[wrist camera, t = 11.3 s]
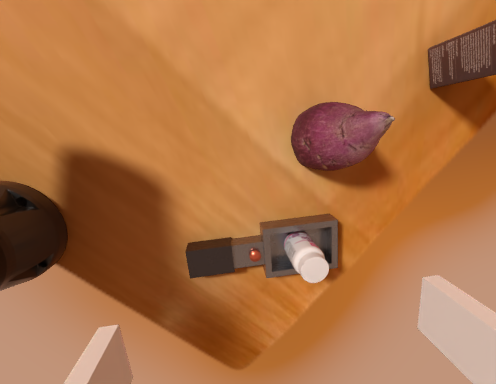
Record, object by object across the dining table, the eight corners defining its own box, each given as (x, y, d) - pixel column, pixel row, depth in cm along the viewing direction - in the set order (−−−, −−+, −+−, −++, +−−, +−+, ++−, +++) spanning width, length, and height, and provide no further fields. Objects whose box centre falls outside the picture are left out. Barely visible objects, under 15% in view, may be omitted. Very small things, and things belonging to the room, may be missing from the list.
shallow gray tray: (194, 278, 41) (191, 289, 38) (186, 231, 39) (183, 240, 36) (329, 258, 43) (338, 268, 40) (329, 213, 41) (338, 220, 38)
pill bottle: (312, 230, 41) (334, 254, 33) (308, 256, 42) (329, 285, 34) (284, 229, 40) (300, 254, 32) (281, 255, 41) (296, 286, 33)
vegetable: (315, 96, 39) (383, 33, 25) (358, 141, 41) (448, 106, 26) (273, 141, 38) (319, 103, 23) (319, 186, 39) (391, 178, 24)
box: (455, 82, 38) (558, 60, 26) (428, 89, 38) (520, 70, 26) (454, 40, 36) (563, -3, 25) (426, 47, 36) (523, 7, 25)
